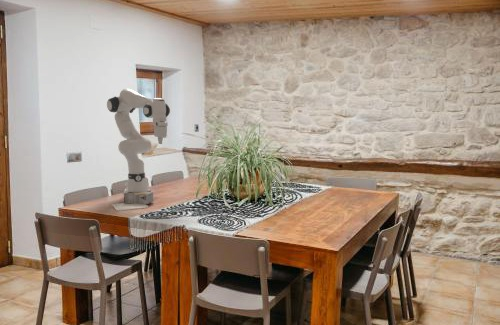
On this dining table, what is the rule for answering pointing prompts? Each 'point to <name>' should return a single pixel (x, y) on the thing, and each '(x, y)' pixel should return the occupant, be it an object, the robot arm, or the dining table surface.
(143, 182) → the robot arm
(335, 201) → the dining table surface
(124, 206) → the mat
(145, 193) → the coffee box
